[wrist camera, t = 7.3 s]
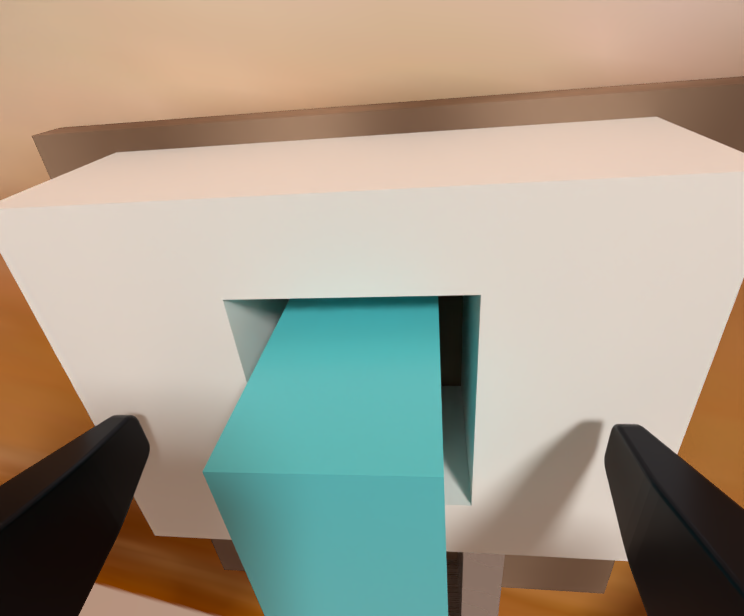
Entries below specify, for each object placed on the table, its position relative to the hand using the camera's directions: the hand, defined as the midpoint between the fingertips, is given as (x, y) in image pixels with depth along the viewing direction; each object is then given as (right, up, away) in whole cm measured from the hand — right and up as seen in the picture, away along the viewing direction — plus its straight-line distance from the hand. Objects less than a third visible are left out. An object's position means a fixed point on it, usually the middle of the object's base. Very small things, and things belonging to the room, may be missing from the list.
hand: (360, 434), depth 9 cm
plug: (0, +2, +4) cm, 4 cm away
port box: (0, +2, +4) cm, 4 cm away
